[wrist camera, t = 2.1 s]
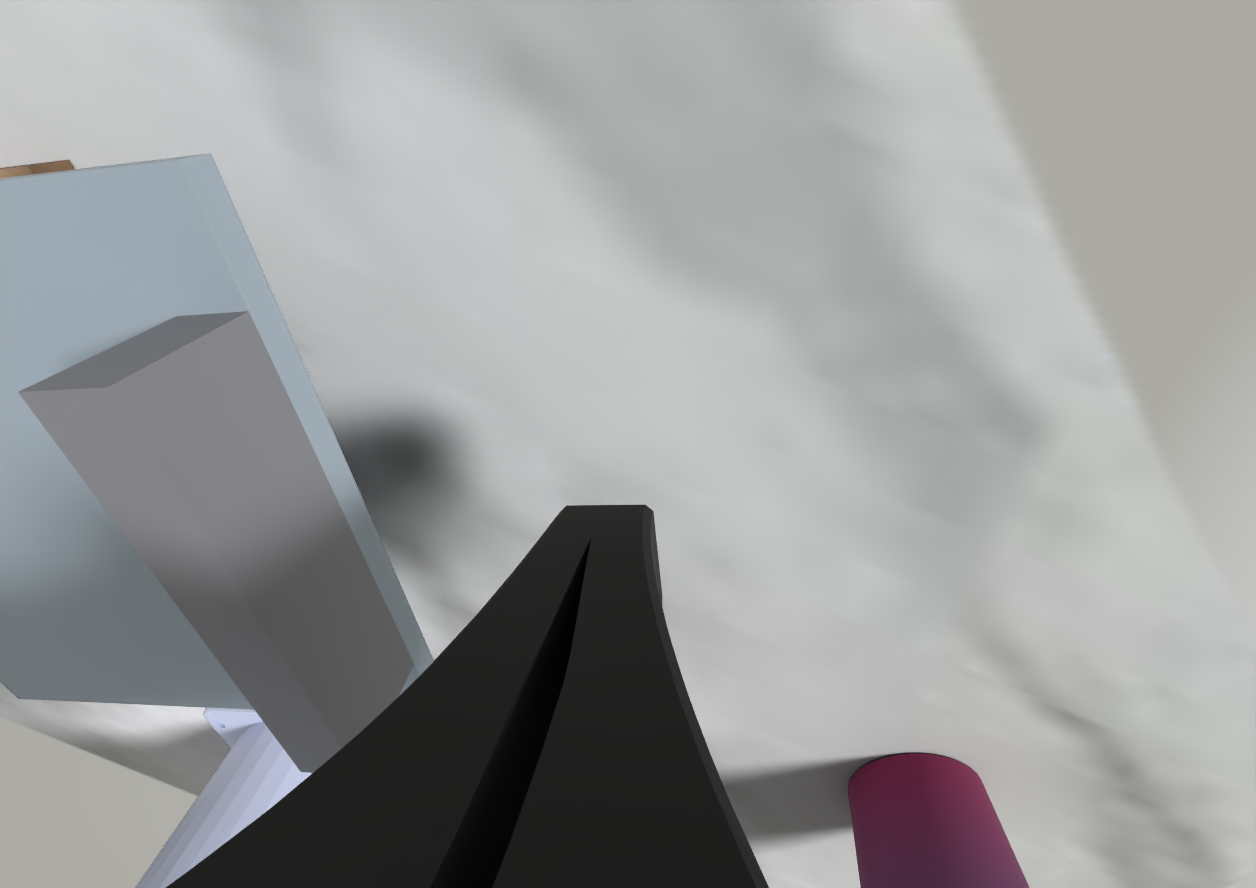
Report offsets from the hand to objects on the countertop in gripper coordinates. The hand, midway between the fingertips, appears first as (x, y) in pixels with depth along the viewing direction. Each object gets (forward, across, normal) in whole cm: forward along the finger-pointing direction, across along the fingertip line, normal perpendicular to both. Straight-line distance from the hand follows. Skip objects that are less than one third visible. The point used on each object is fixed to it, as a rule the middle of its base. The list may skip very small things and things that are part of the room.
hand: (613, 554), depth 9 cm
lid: (+1, +11, 0) cm, 11 cm away
